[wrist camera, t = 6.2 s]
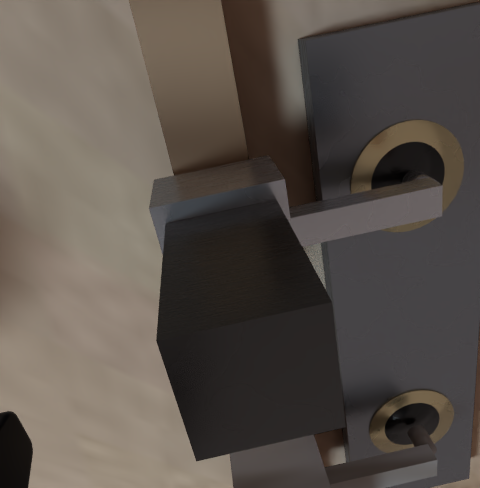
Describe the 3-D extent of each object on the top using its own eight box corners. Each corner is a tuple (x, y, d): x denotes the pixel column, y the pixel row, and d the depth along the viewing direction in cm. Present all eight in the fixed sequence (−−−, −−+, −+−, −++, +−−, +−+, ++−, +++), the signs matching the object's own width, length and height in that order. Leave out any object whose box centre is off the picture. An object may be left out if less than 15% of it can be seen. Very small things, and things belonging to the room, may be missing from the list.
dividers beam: (411, 484, 25) (468, 599, 20) (254, 521, 25) (272, 646, 20) (401, -57, 14) (525, -102, 9) (112, 2, 13) (73, -10, 8)
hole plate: (458, 461, 24) (470, 480, 23) (348, 487, 24) (356, 506, 23) (481, 1, 15) (503, 0, 14) (297, 39, 14) (306, 40, 13)
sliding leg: (424, 231, 16) (604, 385, 9) (184, 284, 16) (187, 481, 9) (425, 119, 14) (646, 207, 8) (154, 176, 14) (130, 320, 7)
